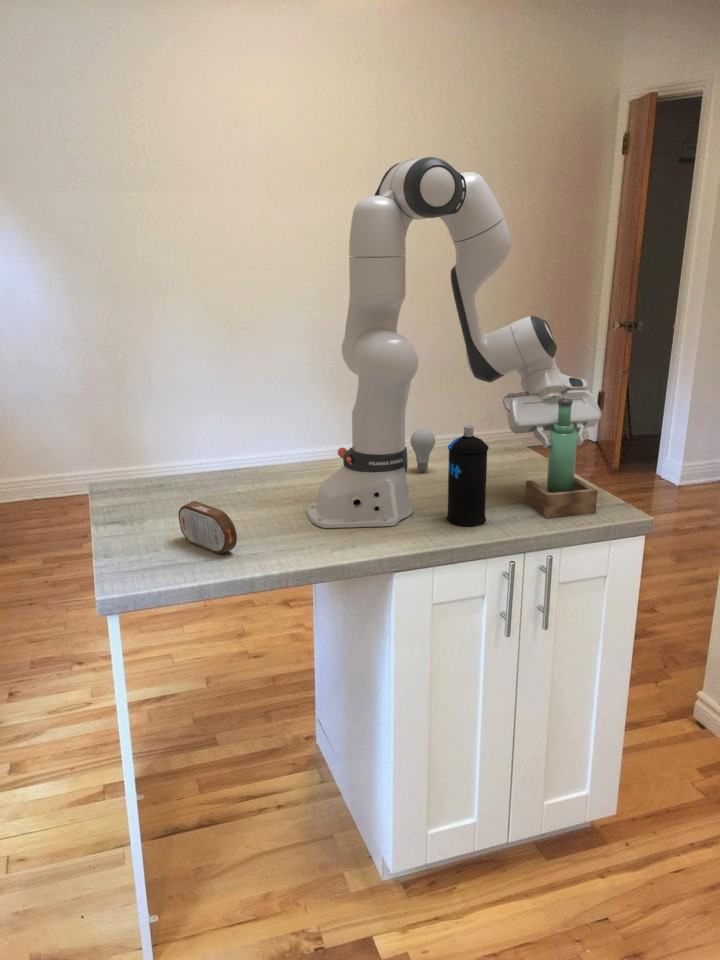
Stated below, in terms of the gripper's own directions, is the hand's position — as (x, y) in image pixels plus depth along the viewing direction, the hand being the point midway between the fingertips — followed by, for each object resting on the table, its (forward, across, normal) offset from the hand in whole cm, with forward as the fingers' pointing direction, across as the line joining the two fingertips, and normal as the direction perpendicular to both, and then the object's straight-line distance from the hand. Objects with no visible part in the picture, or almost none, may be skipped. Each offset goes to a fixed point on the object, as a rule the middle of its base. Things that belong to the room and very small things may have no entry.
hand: (564, 445), depth 166 cm
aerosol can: (+11, -22, +9) cm, 26 cm away
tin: (+11, -75, +8) cm, 76 cm away
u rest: (+9, 0, +10) cm, 14 cm away
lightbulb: (-14, -20, +34) cm, 42 cm away
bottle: (+7, 0, +8) cm, 10 cm away
